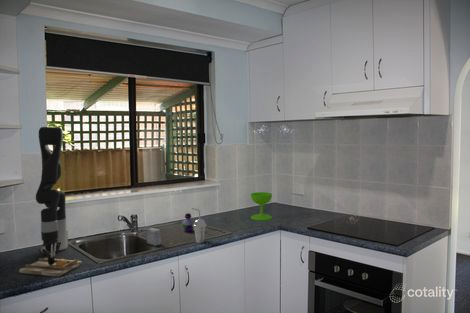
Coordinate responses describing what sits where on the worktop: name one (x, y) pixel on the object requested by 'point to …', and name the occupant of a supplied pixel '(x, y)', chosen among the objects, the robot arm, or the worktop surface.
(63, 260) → the ball
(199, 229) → the cup with straw
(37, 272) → the beige tray
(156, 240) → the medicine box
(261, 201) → the wineglass
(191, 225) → the potion bottle
